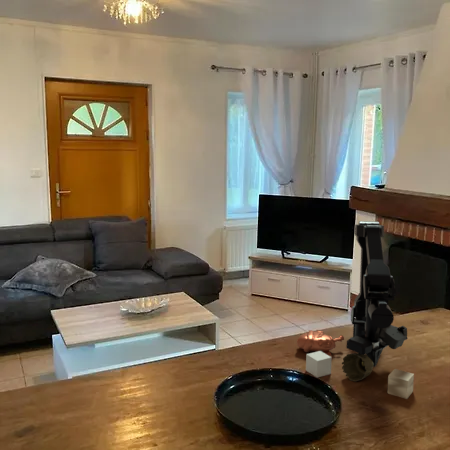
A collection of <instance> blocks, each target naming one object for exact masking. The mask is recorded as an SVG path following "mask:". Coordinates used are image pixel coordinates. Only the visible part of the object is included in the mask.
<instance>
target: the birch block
mask: <svg viewBox="0 0 450 450" xmlns="http://www.w3.org/2000/svg"><path fill="white" fill-rule="evenodd" d="M414 379H415V373H412V372H409V371H405V370H401V369H398V368H394V369H393V370H392V371H391V372H390V373H389V374H388V377H387V391H386V392H387V394H389V395H391V396H396V397H399V398H402V399H405V400H408V399H409V397H410V396H411V395H412V393H414V381H415V380H414Z"/></svg>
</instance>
